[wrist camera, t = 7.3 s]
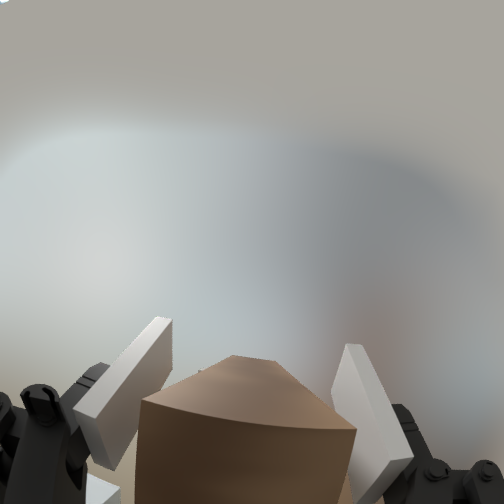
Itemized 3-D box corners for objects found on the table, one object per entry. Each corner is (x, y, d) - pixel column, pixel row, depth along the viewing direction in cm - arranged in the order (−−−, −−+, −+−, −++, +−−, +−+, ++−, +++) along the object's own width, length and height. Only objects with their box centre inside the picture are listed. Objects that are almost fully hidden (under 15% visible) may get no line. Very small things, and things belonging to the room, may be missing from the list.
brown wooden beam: (45, 484, 4) (44, 360, 5) (200, 385, 24) (206, 350, 26) (413, 537, 3) (456, 418, 4) (296, 399, 24) (302, 364, 25)
